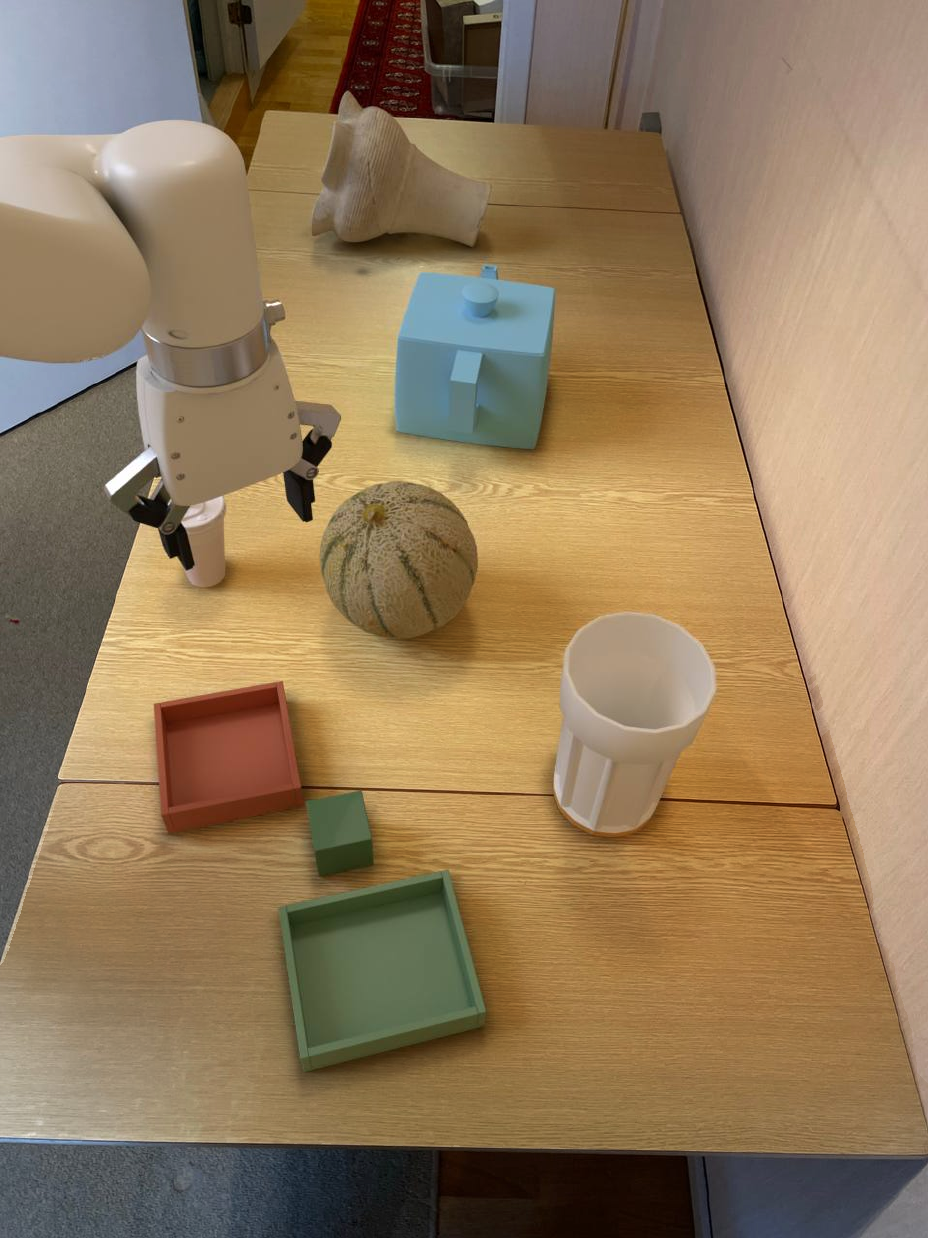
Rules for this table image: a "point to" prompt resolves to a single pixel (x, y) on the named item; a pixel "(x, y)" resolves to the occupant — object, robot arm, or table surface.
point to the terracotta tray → (225, 757)
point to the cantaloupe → (398, 559)
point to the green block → (340, 833)
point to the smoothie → (206, 541)
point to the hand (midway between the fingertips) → (242, 533)
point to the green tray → (379, 969)
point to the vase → (391, 184)
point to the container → (474, 359)
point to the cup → (627, 718)
